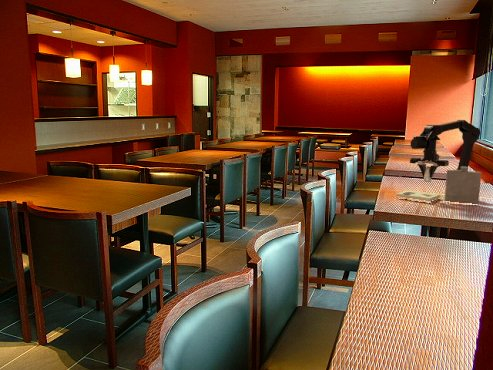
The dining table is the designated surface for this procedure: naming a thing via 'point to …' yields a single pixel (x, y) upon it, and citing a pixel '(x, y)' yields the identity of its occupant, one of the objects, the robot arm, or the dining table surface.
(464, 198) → the grey upright panel
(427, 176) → the plug
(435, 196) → the socket block
